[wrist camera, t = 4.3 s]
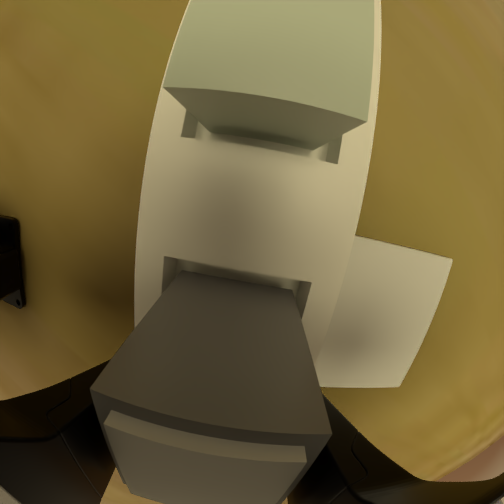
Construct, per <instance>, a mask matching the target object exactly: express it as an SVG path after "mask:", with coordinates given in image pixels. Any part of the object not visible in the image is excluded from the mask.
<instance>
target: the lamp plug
mask: <svg viewBox="0 0 504 504" xmlns="http://www.w3.org/2000/svg"><path fill="white" fill-rule="evenodd" d="M373 52H374V0H191V2H190V4H189V7H188V9H187V12H186V14H185V17H184V20H183V23H182V25H181V28H180V31H179V34H178V37H177V40H176V43H175V46H174V49H173V52H172V55H171V59H170V62H169V66H168V69H167V73H166V76H165V80H164V84H163V88H164V89H165V90H166V91H167V92H168V93H170V94H171V95H172V96H173V97H174V98H175V99H176V100H177V101H178V102H179V103H180V104H181V105H182V106H183V107H184V108H185V109H186V110H187V111H189V112H190V113H191V114H192V115H193V116H194V117H195V118H196V119H197V120H198V121H199V122H200V123H201V124H202V125H203V126H204V127H205V128H206V129H207V130H208V131H209V132H211V133H219V134H227V135H234V136H241V137H247V138H253V139H259V140H265V141H270V142H276V143H281V144H286V145H291V146H295V147H300V148H304V149H309V150H315V149H317V148H319V147H321V146H322V145H324V144H326V143H328V142H330V141H332V140H333V139H335V138H337V137H339V136H341V135H343V134H345V133H347V132H349V131H350V130H352V129H354V128H356V127H358V126H360V125H362V124H364V123H366V122H367V121H368V112H369V103H370V94H371V82H372V69H373Z"/></svg>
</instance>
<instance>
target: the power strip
mask: <svg viewBox="0 0 504 504" xmlns="http://www.w3.org/2000/svg"><path fill="white" fill-rule="evenodd" d="M190 2H191V0H190V1H189V3H188V6H187V8H186V11H185V13H184V16H183V19H182V21H181V24H180V27H179V30H178V33H177V36H176V38H175V41H174V45H173V48H172V51H171V54H170V57H169V61H168V64H167V67H166V71H165V74H164V78H163V82H162V86H161V89H160V93H159V97H158V102H157V106H156V110H155V115H154V119H153V124H152V129H151V134H150V139H149V144H148V150H147V156H146V162H145V168H144V175H143V182H142V190H141V198H140V207H139V216H138V227H137V240H136V257H135V284H134V322H135V327H136V326H137V325H138V324H139V322H140V321H141V320H142V318H143V317H144V316H145V315H146V313H147V312H148V311H149V310H150V308H151V307H152V306H153V305H154V303H155V302H156V301H157V300H158V298H159V297H160V296H161V295H162V293H163V292H164V291H165V290H166V289H167V287H168V286H169V285H170V284H171V282H172V281H173V280H174V279H175V278H176V276H177V275H178V274H179V273H180V272H181V270H185V271H190V272H195V273H200V274H206V275H211V276H216V277H222V278H227V279H233V280H238V281H244V282H250V283H256V284H261V285H267V286H273V287H279V288H285V289H291V290H292V291H293V294H294V297H295V301H296V304H297V307H298V311H299V314H300V318H301V321H302V324H303V328H304V331H305V335H306V338H307V342H308V345H309V349H310V352H311V356H312V359H313V363H314V367H315V364H316V361H317V359H318V356H319V353H320V350H321V348H322V345H323V342H324V339H325V336H326V333H327V330H328V327H329V324H330V321H331V318H332V315H333V312H334V309H335V306H336V303H337V299H338V296H339V293H340V289H341V286H342V283H343V279H344V276H345V272H346V268H347V265H348V261H349V257H350V253H351V249H352V245H353V241H354V237H355V233H356V229H357V224H358V220H359V215H360V211H361V206H362V201H363V196H364V191H365V186H366V181H367V175H368V169H369V164H370V157H371V151H372V144H373V137H374V130H375V122H376V113H377V103H378V92H379V79H380V62H381V0H374V52H373V69H372V82H371V94H370V103H369V112H368V121H367V122H366V123H364V124H362V125H360V126H358V127H356V128H354V129H352V130H350V131H349V132H347V133H345V134H343V135H341V136H339V137H337V138H335V139H333V140H332V141H330V142H328V143H326V144H324V145H322V146H321V147H319V148H317V149H315V150H309V149H304V148H300V147H295V146H291V145H286V144H281V143H276V142H270V141H265V140H259V139H253V138H247V137H241V136H234V135H227V134H219V133H211V132H209V131H208V130H207V129H206V128H205V127H204V126H203V125H202V124H201V123H200V122H199V121H198V120H197V119H196V118H195V117H194V116H193V115H192V114H191V113H190V112H189V111H187V110H186V109H185V108H184V107H183V106H182V105H181V104H180V103H179V102H178V101H177V100H176V99H175V98H174V97H173V96H172V95H171V94H170V93H168V92H167V91H166V90H165V89H164V88H163V84H164V80H165V76H166V73H167V69H168V66H169V62H170V59H171V55H172V52H173V49H174V46H175V43H176V40H177V37H178V34H179V31H180V28H181V25H182V23H183V20H184V17H185V14H186V12H187V9H188V7H189V4H190Z"/></svg>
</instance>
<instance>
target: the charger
mask: <svg viewBox="0 0 504 504" xmlns="http://www.w3.org/2000/svg"><path fill="white" fill-rule="evenodd" d="M90 392H91V396H92V399H93V403H94V406H95V410H96V413H97V416H98V420H99V423H100V426H101V429H102V432H103V434H104V437H105V440H106V443H107V445H108V448H109V451H110V453H111V456H112V458H113V461H114V463H115V465H116V468H117V470H118V472H119V474H120V477H121V479H122V481H123V483H124V484H127V486H128V488H129V490H130V492H131V493H132V494H134V495H137V496H141V497H144V498H147V499H150V500H154V501H157V502H161V503H165V504H281V503H282V502H283V501H284V500H285V499H286V497H287V496H288V495H289V494H290V493H291V491H292V490H293V489H294V488H295V486H296V485H297V484H298V483H299V481H300V480H301V479H302V477H303V476H304V475H305V473H306V472H307V471H308V469H309V468H310V467H311V465H312V464H313V462H314V461H315V459H316V458H317V457H318V455H319V454H320V452H321V451H322V449H323V448H324V446H325V445H326V443H327V442H328V440H329V439H330V437H331V435H332V431H331V427H330V423H329V419H328V415H327V411H326V408H325V404H324V400H323V396H322V392H321V389H320V385H319V381H318V378H317V374H316V370H315V367H314V363H313V359H312V356H311V352H310V349H309V345H308V342H307V338H306V335H305V331H304V328H303V324H302V321H301V318H300V314H299V311H298V307H297V304H296V301H295V297H294V294H293V291H292V290H291V289H285V288H279V287H273V286H267V285H261V284H256V283H250V282H244V281H238V280H233V279H227V278H222V277H216V276H211V275H206V274H200V273H195V272H190V271H185V270H181V272H180V273H179V274H178V275H177V276H176V278H175V279H174V280H173V281H172V282H171V284H170V285H169V286H168V287H167V289H166V290H165V291H164V292H163V293H162V295H161V296H160V297H159V298H158V300H157V301H156V302H155V303H154V305H153V306H152V307H151V308H150V310H149V311H148V312H147V313H146V315H145V316H144V317H143V318H142V320H141V321H140V322H139V324H138V325H137V326H136V327H135V329H134V330H133V331H132V333H131V334H130V335H129V336H128V338H127V339H126V340H125V342H124V343H123V344H122V346H121V347H120V348H119V350H118V351H117V352H116V354H115V355H114V356H113V358H112V359H111V360H110V362H109V363H108V364H107V366H106V367H105V368H104V370H103V371H102V372H101V374H100V375H99V376H98V378H97V379H96V381H95V382H94V383H93V385H92V386H91V388H90Z"/></svg>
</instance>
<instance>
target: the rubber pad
mask: <svg viewBox="0 0 504 504" xmlns="http://www.w3.org/2000/svg"><path fill="white" fill-rule="evenodd" d="M452 261H453V259H451V258H448V257H444V256H441V255H437V254H433V253H429V252H425V251H421V250H417V249H413V248H409V247H405V246H401V245H396V244H392V243H388V242H384V241H379V240H375V239H371V238H366V237H362V236H357V235H355V237H354V241H353V245H352V249H351V253H350V257H349V261H348V265H347V268H346V272H345V276H344V279H343V283H342V286H341V289H340V293H339V296H338V299H337V303H336V306H335V309H334V312H333V315H332V318H331V321H330V324H329V327H328V330H327V333H326V336H325V339H324V342H323V345H322V348H321V350H320V353H319V356H318V359H317V361H316V364H315V370H316V374H317V378H318V381H319V385H320V387H342V388H383V387H399V386H400V384H401V383H402V381H403V379H404V377H405V375H406V374H407V372H408V370H409V368H410V366H411V364H412V362H413V360H414V358H415V356H416V354H417V352H418V350H419V348H420V346H421V344H422V342H423V339H424V337H425V335H426V333H427V330H428V328H429V326H430V323H431V321H432V319H433V316H434V314H435V311H436V309H437V306H438V303H439V301H440V298H441V295H442V292H443V290H444V287H445V284H446V281H447V278H448V274H449V271H450V268H451V265H452Z"/></svg>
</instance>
